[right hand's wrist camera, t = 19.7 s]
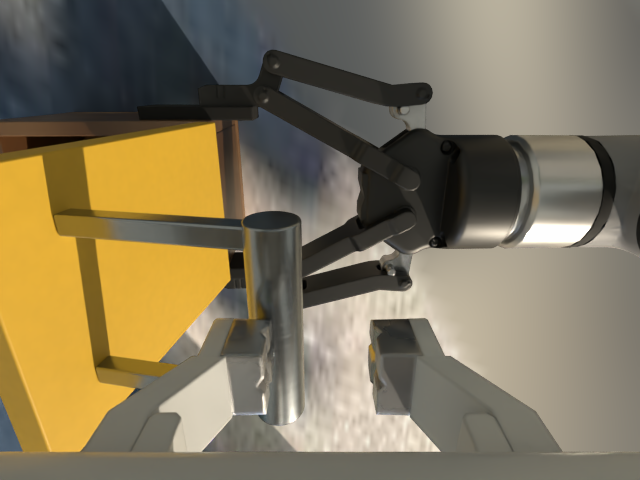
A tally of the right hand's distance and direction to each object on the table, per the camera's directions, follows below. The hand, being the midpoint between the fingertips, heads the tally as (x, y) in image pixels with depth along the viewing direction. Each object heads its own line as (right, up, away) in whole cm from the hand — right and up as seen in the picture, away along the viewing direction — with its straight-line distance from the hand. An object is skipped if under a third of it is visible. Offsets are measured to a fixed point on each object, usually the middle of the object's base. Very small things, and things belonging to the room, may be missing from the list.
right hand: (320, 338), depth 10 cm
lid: (-8, +2, +6) cm, 10 cm away
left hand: (-10, +6, +14) cm, 19 cm away
